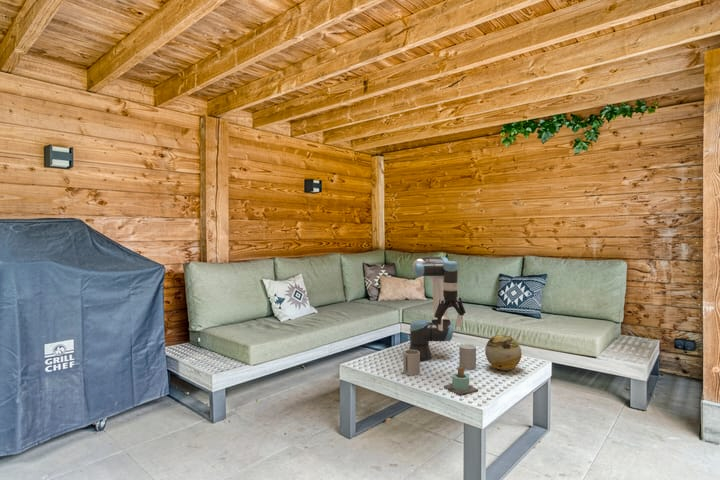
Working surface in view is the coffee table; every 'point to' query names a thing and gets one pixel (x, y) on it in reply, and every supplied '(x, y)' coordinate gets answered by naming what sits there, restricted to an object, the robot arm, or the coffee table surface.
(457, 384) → the collar
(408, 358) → the cup
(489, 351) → the decorative sphere
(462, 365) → the beige speckled cylinder
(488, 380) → the coffee table surface
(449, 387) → the post stand
